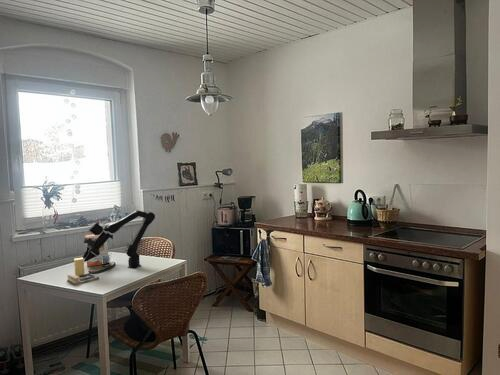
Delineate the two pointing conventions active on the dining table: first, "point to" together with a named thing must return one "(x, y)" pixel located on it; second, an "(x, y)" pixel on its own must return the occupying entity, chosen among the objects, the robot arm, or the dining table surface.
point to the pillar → (79, 266)
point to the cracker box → (103, 252)
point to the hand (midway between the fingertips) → (83, 259)
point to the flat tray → (81, 278)
